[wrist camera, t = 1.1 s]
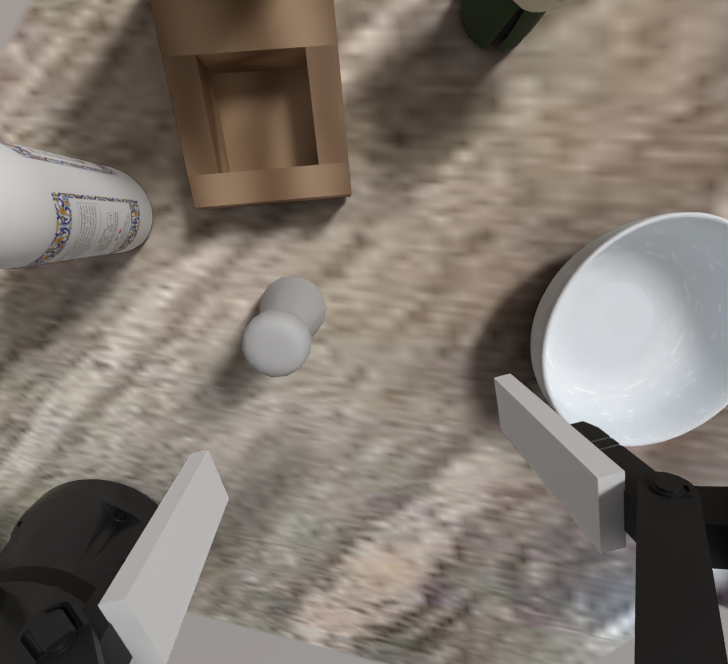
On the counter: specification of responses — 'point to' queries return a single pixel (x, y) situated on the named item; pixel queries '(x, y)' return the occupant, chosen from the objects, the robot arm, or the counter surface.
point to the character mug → (504, 19)
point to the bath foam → (65, 208)
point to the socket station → (256, 99)
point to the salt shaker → (284, 327)
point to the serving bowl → (639, 329)
